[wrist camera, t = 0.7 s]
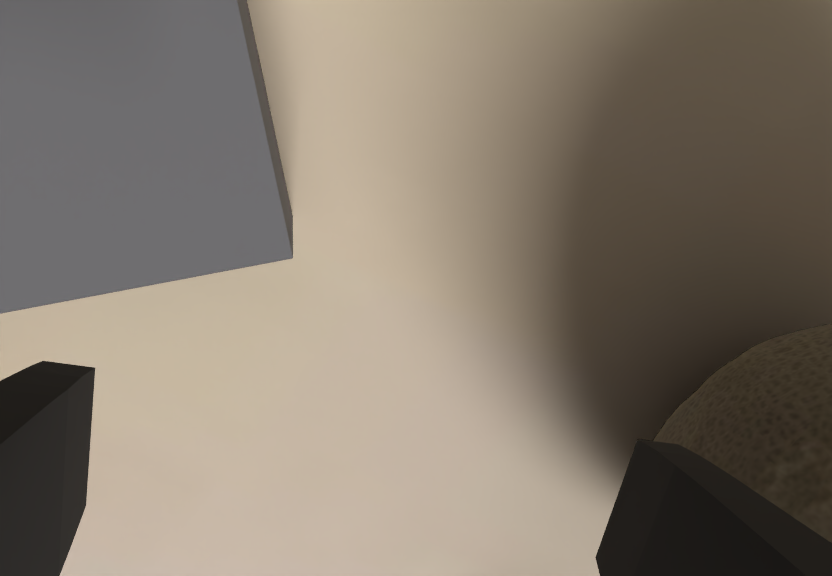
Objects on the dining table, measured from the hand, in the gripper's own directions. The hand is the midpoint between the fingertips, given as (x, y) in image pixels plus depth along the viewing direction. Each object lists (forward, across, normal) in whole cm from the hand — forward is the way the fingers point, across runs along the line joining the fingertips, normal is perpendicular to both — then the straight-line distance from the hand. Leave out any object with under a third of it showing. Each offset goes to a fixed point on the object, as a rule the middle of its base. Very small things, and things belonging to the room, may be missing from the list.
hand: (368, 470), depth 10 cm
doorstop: (+11, +5, -2) cm, 12 cm away
